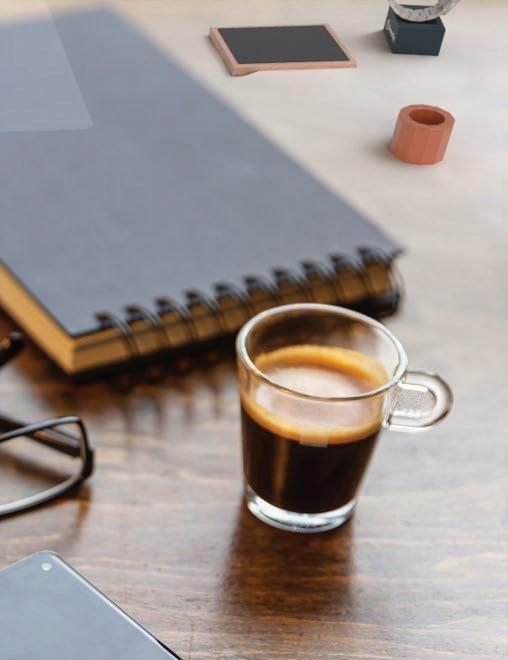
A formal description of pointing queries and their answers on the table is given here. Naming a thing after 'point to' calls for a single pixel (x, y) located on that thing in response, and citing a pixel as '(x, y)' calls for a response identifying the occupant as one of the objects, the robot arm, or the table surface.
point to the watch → (416, 27)
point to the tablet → (280, 48)
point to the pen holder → (421, 134)
